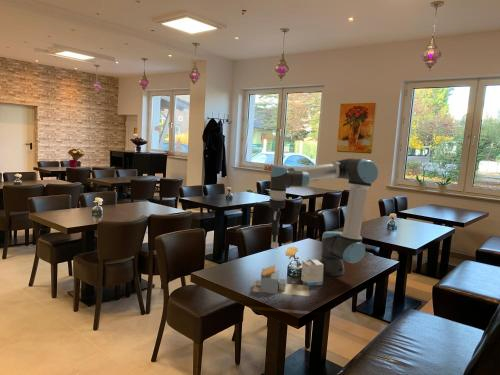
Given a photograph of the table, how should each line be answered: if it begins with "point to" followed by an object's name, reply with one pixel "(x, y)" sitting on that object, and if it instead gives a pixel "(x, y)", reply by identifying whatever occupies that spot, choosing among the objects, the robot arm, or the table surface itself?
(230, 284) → the table surface
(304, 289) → the birch board
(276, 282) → the hitch block
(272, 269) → the keeper tab
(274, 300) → the table surface
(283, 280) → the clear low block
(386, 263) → the table surface
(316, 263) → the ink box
